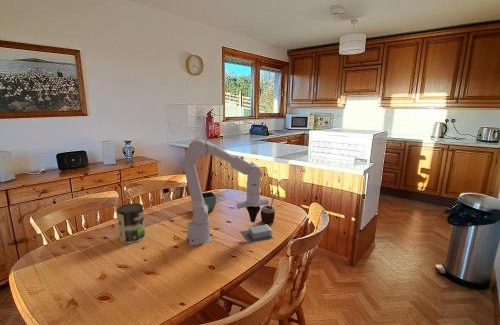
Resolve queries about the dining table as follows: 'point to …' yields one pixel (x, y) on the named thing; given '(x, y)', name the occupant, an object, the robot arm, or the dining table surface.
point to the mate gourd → (268, 213)
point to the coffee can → (131, 223)
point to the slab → (260, 231)
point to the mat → (250, 239)
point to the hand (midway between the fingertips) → (252, 221)
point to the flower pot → (209, 200)
